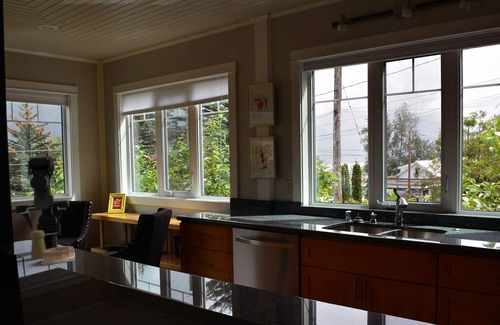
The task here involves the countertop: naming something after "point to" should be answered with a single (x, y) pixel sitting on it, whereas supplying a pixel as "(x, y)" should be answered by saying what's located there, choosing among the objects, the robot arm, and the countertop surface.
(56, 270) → the countertop surface
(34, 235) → the cork
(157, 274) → the countertop surface
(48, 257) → the socket board
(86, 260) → the countertop surface
